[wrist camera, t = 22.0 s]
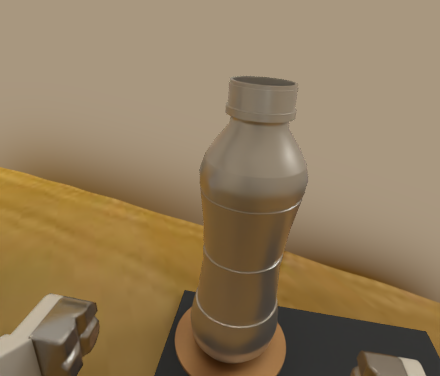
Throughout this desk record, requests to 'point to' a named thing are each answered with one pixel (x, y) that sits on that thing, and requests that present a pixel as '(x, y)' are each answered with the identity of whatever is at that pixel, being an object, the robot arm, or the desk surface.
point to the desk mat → (324, 343)
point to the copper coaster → (220, 371)
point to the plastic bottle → (247, 218)
